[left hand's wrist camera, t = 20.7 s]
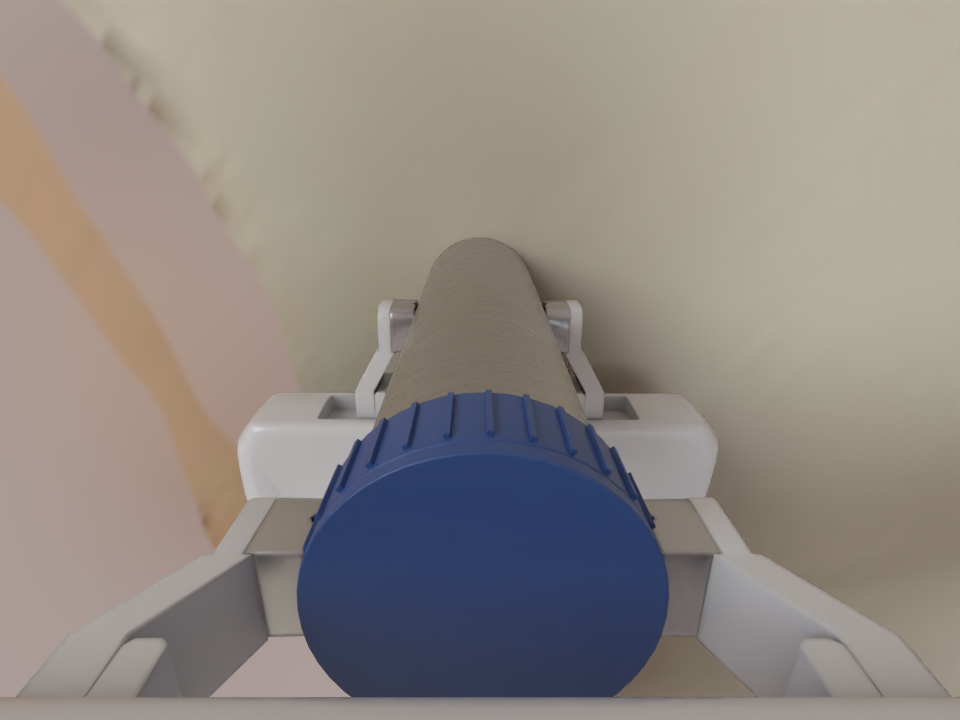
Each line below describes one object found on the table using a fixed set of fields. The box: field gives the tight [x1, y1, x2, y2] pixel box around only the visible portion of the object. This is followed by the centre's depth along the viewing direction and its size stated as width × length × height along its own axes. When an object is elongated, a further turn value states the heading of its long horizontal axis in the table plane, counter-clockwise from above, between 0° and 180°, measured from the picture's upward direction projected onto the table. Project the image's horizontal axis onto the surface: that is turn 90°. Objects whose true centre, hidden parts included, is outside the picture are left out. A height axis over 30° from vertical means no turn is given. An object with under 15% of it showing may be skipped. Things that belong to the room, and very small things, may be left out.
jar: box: [372, 238, 589, 430], centre depth 18 cm, size 5×5×20 cm
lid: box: [297, 390, 669, 697], centre depth 10 cm, size 6×6×2 cm
